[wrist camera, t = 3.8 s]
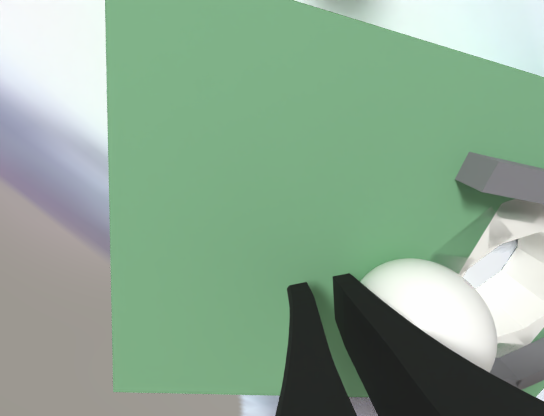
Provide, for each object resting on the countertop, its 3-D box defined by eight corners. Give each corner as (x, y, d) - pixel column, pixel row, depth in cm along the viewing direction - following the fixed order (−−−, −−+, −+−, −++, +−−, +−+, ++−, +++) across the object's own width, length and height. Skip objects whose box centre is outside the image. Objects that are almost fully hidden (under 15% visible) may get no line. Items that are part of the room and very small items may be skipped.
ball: (424, 225, 11) (554, 313, 8) (376, 297, 13) (465, 386, 10) (353, 245, 9) (504, 380, 6) (309, 330, 11) (401, 458, 8)
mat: (667, 133, 13) (835, 156, 10) (491, 356, 20) (551, 422, 16) (144, -17, 9) (75, -87, 5) (135, 336, 15) (101, 421, 11)
